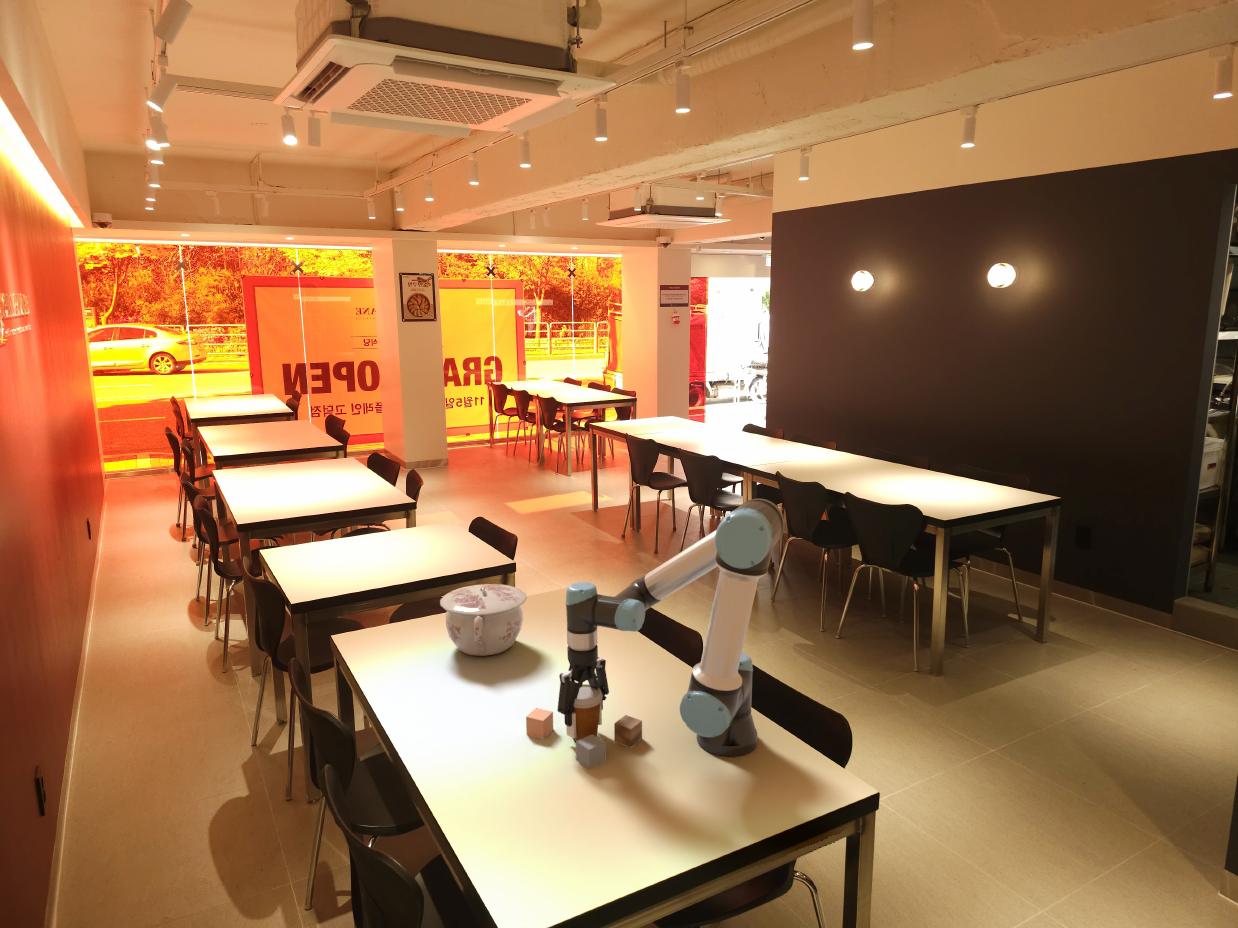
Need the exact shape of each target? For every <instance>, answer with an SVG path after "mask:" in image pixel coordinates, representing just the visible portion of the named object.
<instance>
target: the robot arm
mask: <svg viewBox="0 0 1238 928" xmlns="http://www.w3.org/2000/svg"><path fill="white" fill-rule="evenodd" d="M784 530H785V519H784V515H783V513H782V511H781V510H780V508H779V507H778V506H777V505H776V504H775V503H774V502H772V501H770V500H768V499H764V498H753V499H752V498H751V499H749V500H746V501H745V502H743V503H742V504H740V505H739V506H738V507H737V508H736V509H734V510H733V511H730V512H729V513H727V514H726V515H725V516H724V517H723V519H722V520H721V521H720V523H719V525H718V526H717V528H716V529H715V530H714V531H712V532H711V533H709V534H707V535H706V536H704V537H703V538H701V539H699V540H698V541H695V543H693V544H692V545H690V546H688V547H687V548H686V549H683V550H682V551H680V552H679V553H677V554H675V555H674V556H673V557H671V558H670V559H668V560H667V561H665V562H663V563H661V564H660V565H659V566H657V567H656V568H654V569H652V570H651V571H649V572H647V573H646V574H645V575H643V576H641V577H639V578H637V579H636V580H634V581H633V582H631V583H630V584H629V585H628V586H627V587H626V588H625V589H622V591H620V592H619V593H617V594H616V595H615V596H612V595H604V594H599V593H598V591H597V586H596V585H595V584H594V583H591V582H586V581H579V582H575V583H572V584H570V585H569V586H568V587H567V588H566V592H565V594H566V596H565V597H566V598H565V607H566V608H565V611H566V637H567V640H566V641H567V642H566V643H567V647H566V648H567V649H566V650H567V660H568V663H569V667H568V670H567V671H566V672H565V673H562V672H561V673H559V676H558V677H559V681H560V682H559V692H558V701H557V712H558V713H560V714H562V715H564V725H565V726H566V735H567V736H568V737H570V738H572V739H573V738H576V713H574V712H573V711H574V702H575V699H577V696H578V693H579V689H580V688H581V687H582V684H584V682H586V681H587V682H588V684H589V685H590V687H592V688H594V689H596V690H598V688H599V689H600V690H601V693H602V695H603V698H602V701H601V705H600V714H599V723H598V726H601V725H602V724H603V718H602V716H603V713H602V711H603V709H604V701H606V700H607V696H608V695H609V693H610V689H609V683H608V677H607V671H606V664H607V661H606V659H604V658H601V657H600V656H599V647H598V642H599V641H598V627H601V628H602V627H603V628H607V629H612V630H613V629H614V630H618V631H622V632H638V631H640V629H642V627H643V624H644V622H645V618H646V611H647V610H648V609H650V608H651V607H654V606H655V605H656V604H658V603H660V602H661V601H662V600H664V599H666V598H668V597H670V596H671V595H672V594H674V593H677V591H679V590H681V589H682V588H685V587H686V586H687V585H689V584H691V583H693V582H694V581H696V580H698V579H699V578H701V577H702V576H704V575H706V574H707V573H709V572H710V571H712V570H714V569H715V568H717V567H718V568H719V574H718V578H717V579H718V580H717V584H716V590H715V594H714V599H713V603H712V607H711V613H710V617H709V622H708V627H707V631H706V636H705V641H704V646H703V650H702V655H701V661H700V662H698V663H696V664H695V665H694V666H693V668H692V670H691V675H690V679H689V685H688V687H687V688H688V689H687V692H686V693H685V694H684V695H683V696H682V699H681V701H680V705H679V713H680V717H681V719H682V721H683V722H684V723H685V725H686V727H687V728H688V729H689V730H690V731H691V732H693V733H695V734H696V741H697V744H698V745H699V746H700V747H701V748H702V749H703V750H705V751H707V752H709V753H710V754H713V755H715V756H721V757H739V756H740V757H741V756H744V755H747V754H749V753H752V752H753V751H754V750H756V748H757V746H758V737H759V735H758V731H757V728H756V726H755V722H754V719H753V714H752V694H753V690H752V689H753V672H754V668H753V659H752V658H751V657H750V655H748V654H746V653H744V652H743V649H744V645H745V640H746V636H747V632H748V628H749V622H750V619H751V614H752V610H753V605H754V600H755V596H756V591H757V588H758V583H759V579H760V578H762V577H765V576H766V575H767V574H768V570H769V566H770V562H771V558H772V555H773V554H772V553H773V550H774V547H775V545H776V544H777V543H778V542H779V540H781V538H782V536H783V533H784ZM606 695H607V696H606ZM568 707H569V708H568Z"/></svg>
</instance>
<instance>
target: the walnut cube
mask: <svg viewBox="0 0 1238 928" xmlns="http://www.w3.org/2000/svg"><path fill="white" fill-rule="evenodd" d="M613 725H614V727H613V728H614V730H613V731H614V737H613V738H614V742H615V743H617V744H620V745H623V746H626V747H629V748H632V747H633V746H635V745H636V744H637V743H638V742H640V741H641V740H642V739H643V720H642V719H639V718H635V717H633V716H629V715H628V714H627V715H626V714H625V715H623V716H622V717H621V718H619V719H618V720H616V721H615V722H614V724H613Z"/></svg>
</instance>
